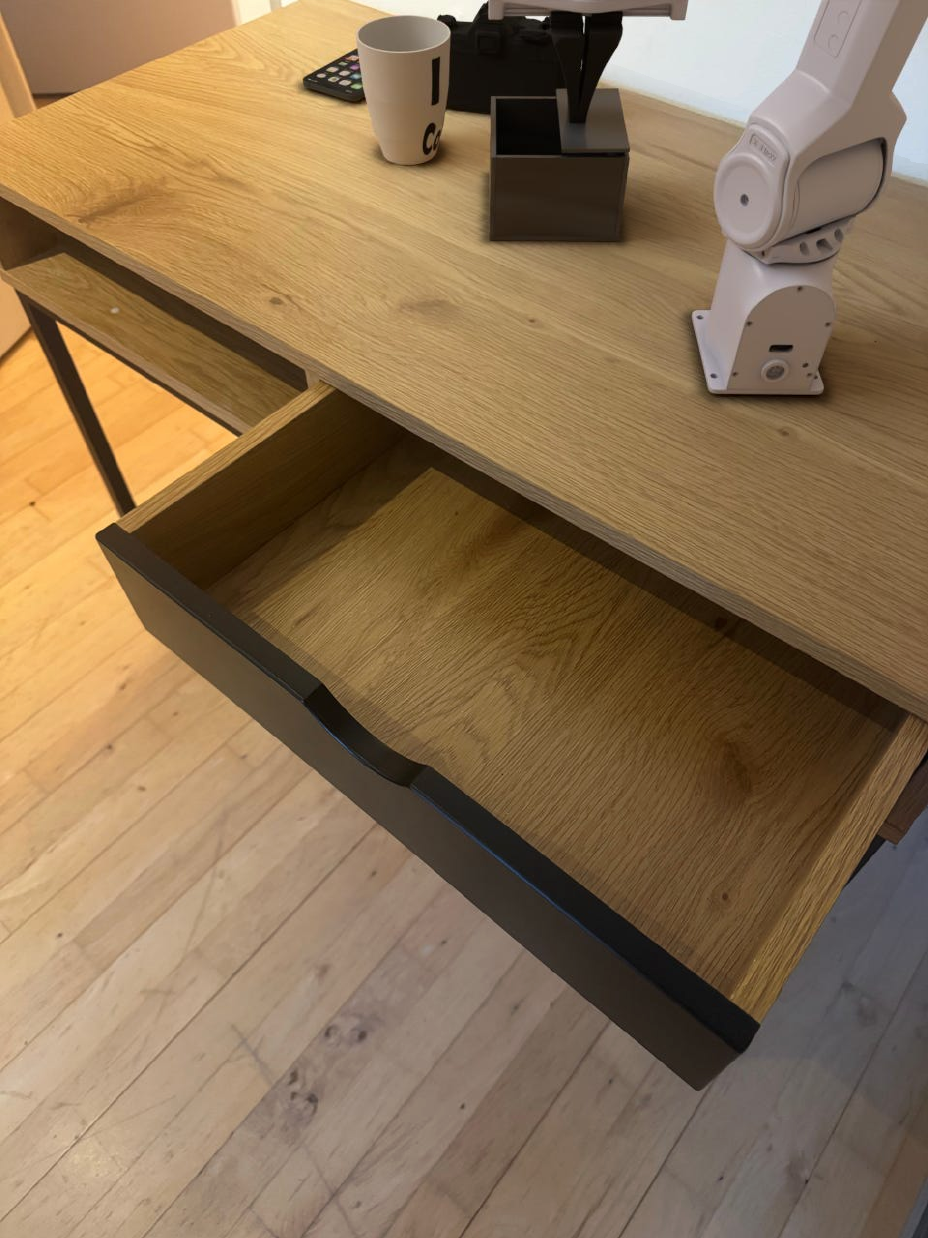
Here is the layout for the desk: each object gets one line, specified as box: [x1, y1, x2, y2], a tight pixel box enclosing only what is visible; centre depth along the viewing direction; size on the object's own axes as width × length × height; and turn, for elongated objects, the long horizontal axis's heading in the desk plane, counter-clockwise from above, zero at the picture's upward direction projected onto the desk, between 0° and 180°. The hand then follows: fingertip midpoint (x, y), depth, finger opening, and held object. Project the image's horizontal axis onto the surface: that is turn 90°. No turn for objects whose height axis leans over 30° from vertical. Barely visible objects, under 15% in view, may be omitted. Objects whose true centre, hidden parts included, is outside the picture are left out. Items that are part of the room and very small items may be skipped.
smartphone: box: [302, 47, 366, 102], centre depth 96 cm, size 7×1×15 cm
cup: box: [355, 14, 450, 166], centre depth 81 cm, size 8×8×10 cm
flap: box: [556, 87, 631, 153], centre depth 73 cm, size 11×5×1 cm, turn 179°
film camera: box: [436, 0, 566, 115], centre depth 89 cm, size 15×10×9 cm, turn 74°
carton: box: [488, 96, 631, 242], centre depth 76 cm, size 11×11×7 cm
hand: (576, 117), depth 73 cm, fingers closed, pressing on flap
